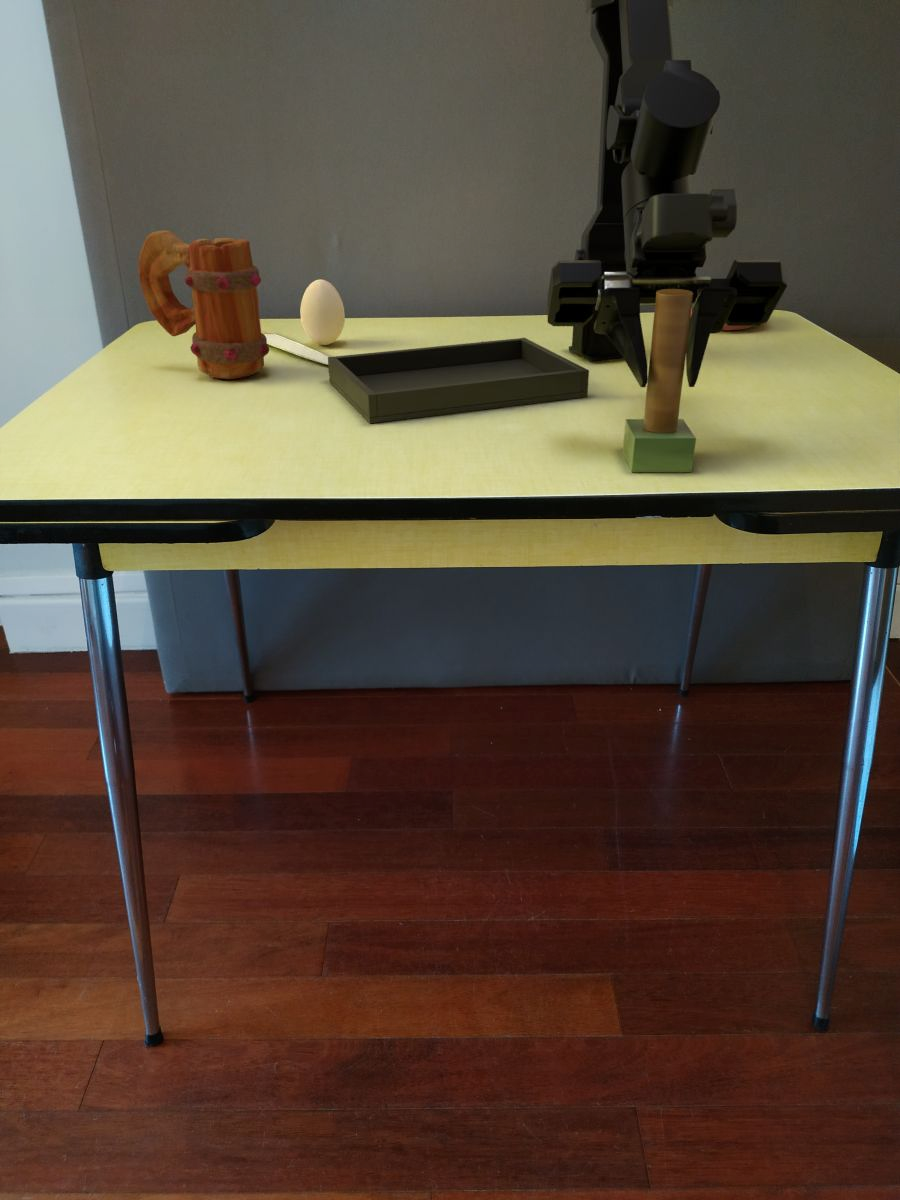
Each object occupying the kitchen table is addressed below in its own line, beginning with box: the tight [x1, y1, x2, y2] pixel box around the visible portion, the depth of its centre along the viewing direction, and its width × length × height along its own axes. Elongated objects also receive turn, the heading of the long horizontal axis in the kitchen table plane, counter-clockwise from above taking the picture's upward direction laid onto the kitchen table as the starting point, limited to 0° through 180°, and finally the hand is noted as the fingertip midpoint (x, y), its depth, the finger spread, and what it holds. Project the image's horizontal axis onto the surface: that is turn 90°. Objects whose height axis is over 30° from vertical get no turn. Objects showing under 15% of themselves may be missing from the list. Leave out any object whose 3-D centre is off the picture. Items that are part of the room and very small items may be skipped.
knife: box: [261, 330, 329, 366], centre depth 116 cm, size 1×34×5 cm
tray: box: [327, 337, 590, 424], centre depth 97 cm, size 24×16×3 cm, turn 111°
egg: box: [299, 279, 346, 346], centre depth 113 cm, size 6×6×8 cm
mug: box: [137, 229, 270, 380], centre depth 100 cm, size 15×8×15 cm, turn 71°
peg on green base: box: [622, 289, 697, 473], centre depth 74 cm, size 5×5×14 cm
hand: (668, 384), depth 73 cm, fingers open, 4 cm apart
